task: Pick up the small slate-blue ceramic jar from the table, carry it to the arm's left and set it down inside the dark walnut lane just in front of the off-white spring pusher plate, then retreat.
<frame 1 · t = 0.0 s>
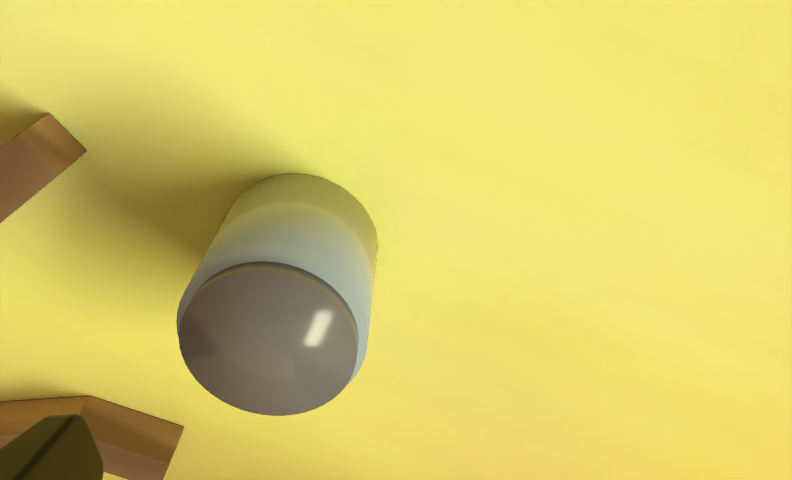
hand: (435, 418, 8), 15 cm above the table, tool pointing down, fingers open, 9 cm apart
jar: (301, 244, 24), on the table
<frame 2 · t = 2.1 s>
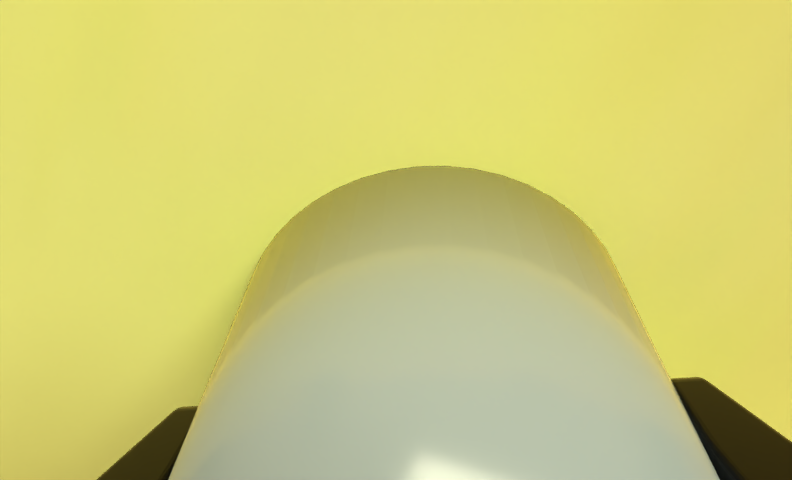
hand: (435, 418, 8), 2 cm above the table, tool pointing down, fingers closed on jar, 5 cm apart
jar: (433, 342, 10), on the table, touching gripper
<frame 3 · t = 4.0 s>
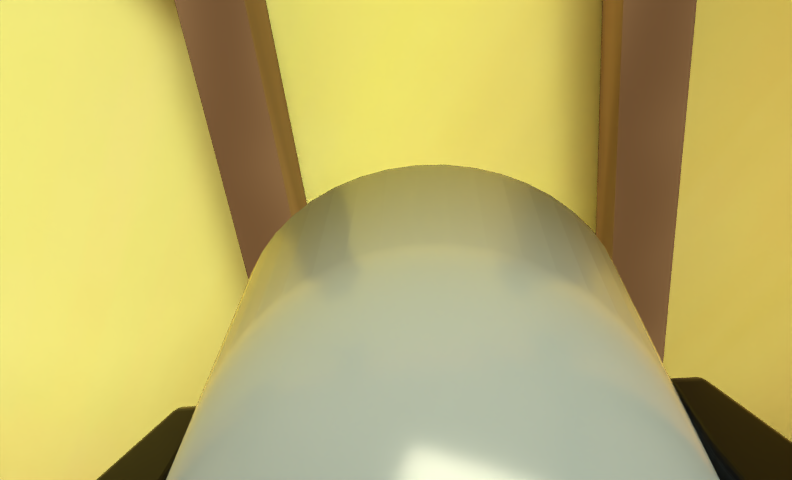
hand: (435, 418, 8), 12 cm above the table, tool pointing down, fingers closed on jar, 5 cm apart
jar: (432, 341, 10), point 10 cm above the table, touching gripper
lane: (449, 196, 20), on the table
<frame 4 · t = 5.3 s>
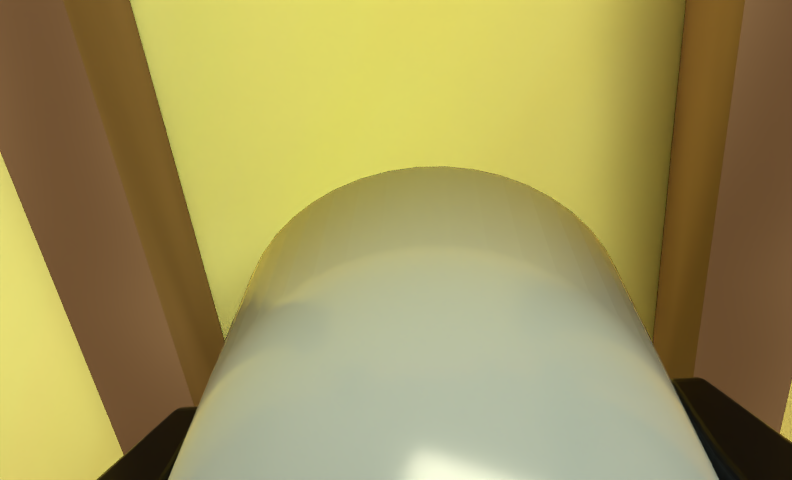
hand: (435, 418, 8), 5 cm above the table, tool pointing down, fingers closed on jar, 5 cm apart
jar: (433, 343, 10), point 3 cm above the table, touching gripper
lane: (435, 332, 13), on the table
when the fingers open (3 cm above the table, at t = 6.0 s): jar drops 2 cm, on the table.
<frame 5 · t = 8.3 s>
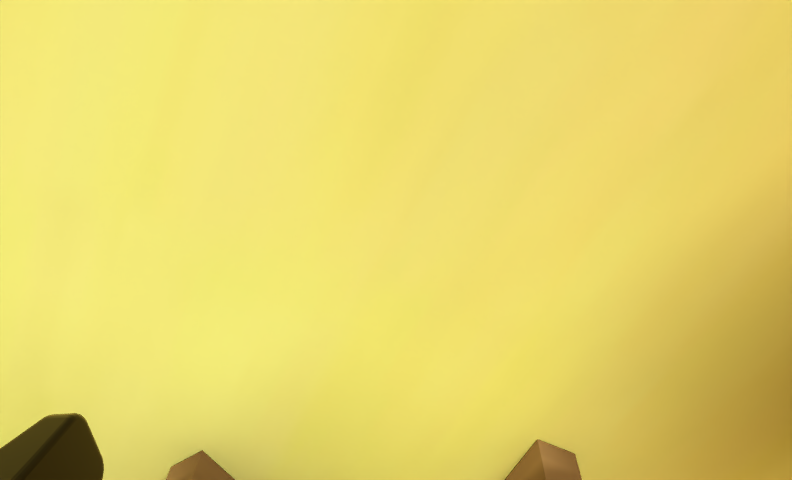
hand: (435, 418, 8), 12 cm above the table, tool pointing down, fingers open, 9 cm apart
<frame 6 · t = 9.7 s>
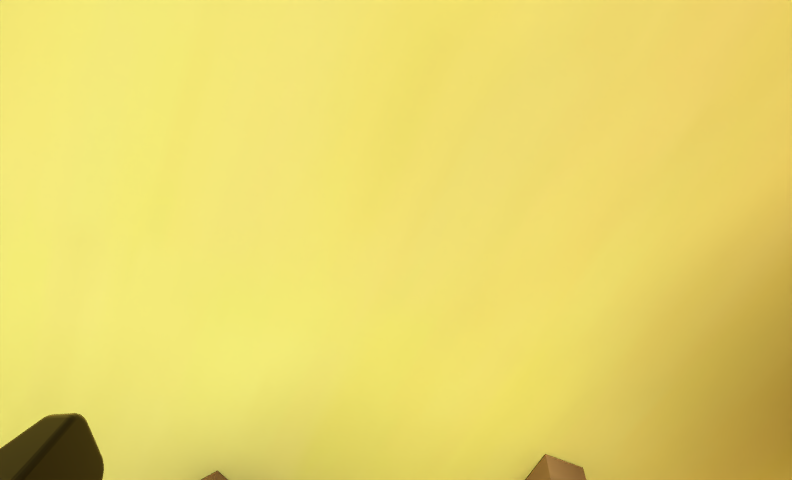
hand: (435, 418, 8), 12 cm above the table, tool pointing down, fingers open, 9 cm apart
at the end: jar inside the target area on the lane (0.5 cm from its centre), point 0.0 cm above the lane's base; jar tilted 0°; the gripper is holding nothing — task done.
